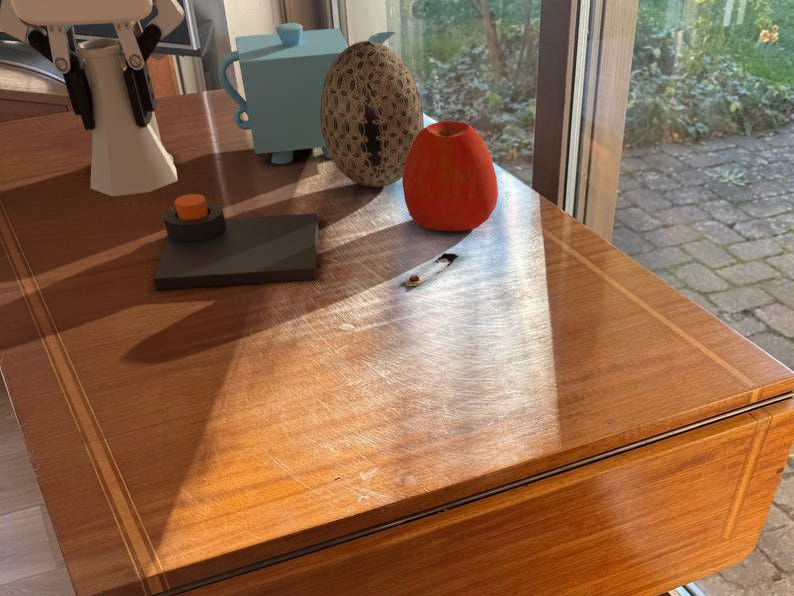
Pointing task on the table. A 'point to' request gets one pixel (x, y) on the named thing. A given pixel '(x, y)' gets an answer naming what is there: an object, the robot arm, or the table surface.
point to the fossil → (415, 278)
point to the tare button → (191, 207)
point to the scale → (237, 250)
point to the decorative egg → (370, 114)
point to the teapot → (285, 86)
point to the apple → (449, 178)
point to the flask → (120, 129)
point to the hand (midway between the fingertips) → (118, 120)
